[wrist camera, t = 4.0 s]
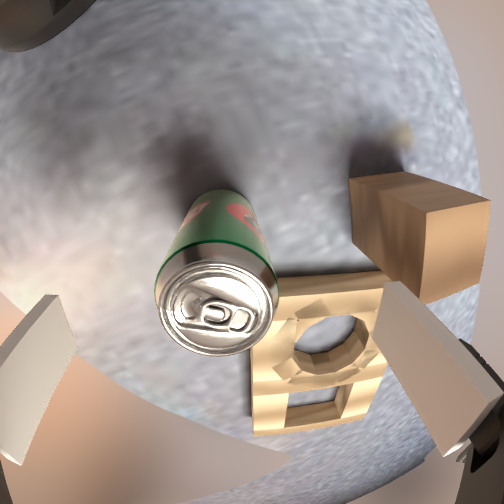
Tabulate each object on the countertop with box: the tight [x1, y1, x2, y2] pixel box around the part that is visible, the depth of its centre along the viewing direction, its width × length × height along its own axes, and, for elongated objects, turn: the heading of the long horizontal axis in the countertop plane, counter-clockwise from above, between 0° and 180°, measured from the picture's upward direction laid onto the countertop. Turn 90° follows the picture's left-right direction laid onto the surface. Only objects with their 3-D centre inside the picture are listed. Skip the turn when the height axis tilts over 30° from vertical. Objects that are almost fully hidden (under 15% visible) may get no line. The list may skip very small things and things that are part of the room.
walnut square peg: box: [348, 171, 490, 305], centre depth 17 cm, size 6×6×10 cm
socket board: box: [250, 271, 393, 436], centre depth 26 cm, size 20×14×3 cm
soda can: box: [154, 189, 279, 356], centre depth 16 cm, size 5×5×12 cm
